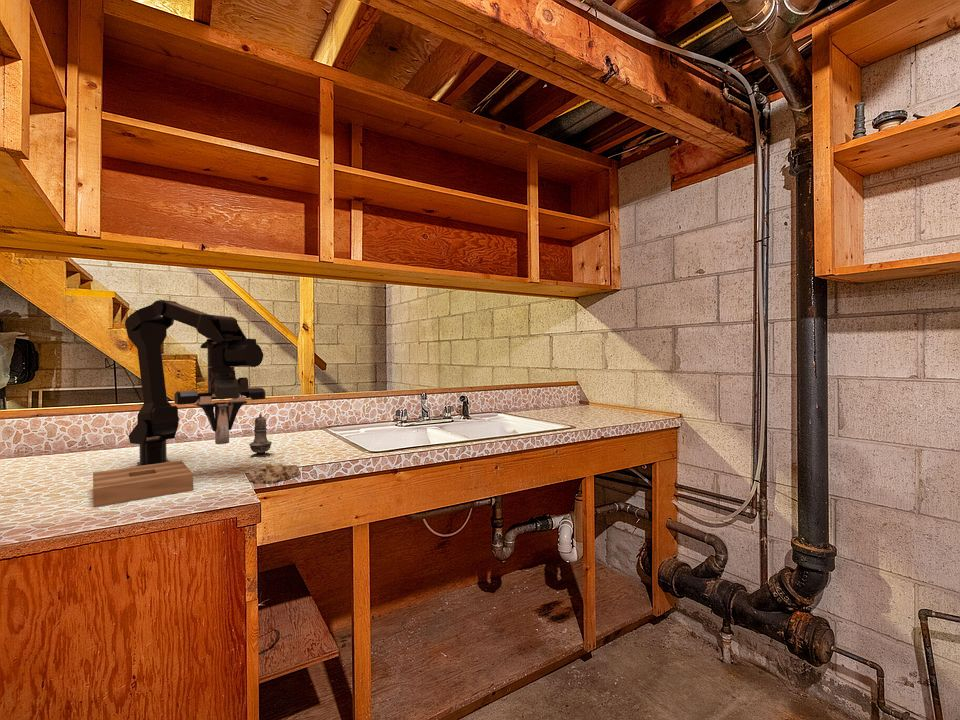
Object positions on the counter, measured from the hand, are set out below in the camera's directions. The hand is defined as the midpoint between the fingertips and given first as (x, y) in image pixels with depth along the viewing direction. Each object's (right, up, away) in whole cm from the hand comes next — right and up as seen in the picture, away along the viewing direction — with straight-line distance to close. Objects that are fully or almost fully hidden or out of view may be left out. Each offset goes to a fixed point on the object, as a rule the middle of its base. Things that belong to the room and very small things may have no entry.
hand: (222, 430), depth 110 cm
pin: (0, -3, 0) cm, 3 cm away
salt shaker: (+1, -10, +17) cm, 20 cm away
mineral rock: (+16, -11, -6) cm, 20 cm away
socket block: (-9, -10, -14) cm, 20 cm away
